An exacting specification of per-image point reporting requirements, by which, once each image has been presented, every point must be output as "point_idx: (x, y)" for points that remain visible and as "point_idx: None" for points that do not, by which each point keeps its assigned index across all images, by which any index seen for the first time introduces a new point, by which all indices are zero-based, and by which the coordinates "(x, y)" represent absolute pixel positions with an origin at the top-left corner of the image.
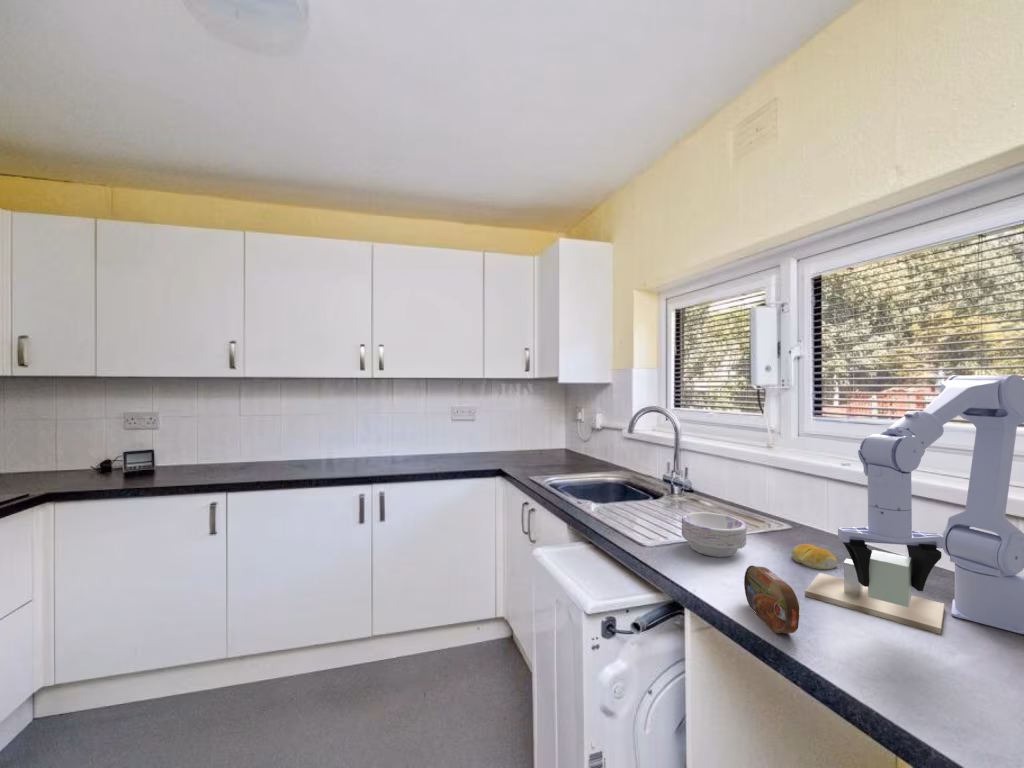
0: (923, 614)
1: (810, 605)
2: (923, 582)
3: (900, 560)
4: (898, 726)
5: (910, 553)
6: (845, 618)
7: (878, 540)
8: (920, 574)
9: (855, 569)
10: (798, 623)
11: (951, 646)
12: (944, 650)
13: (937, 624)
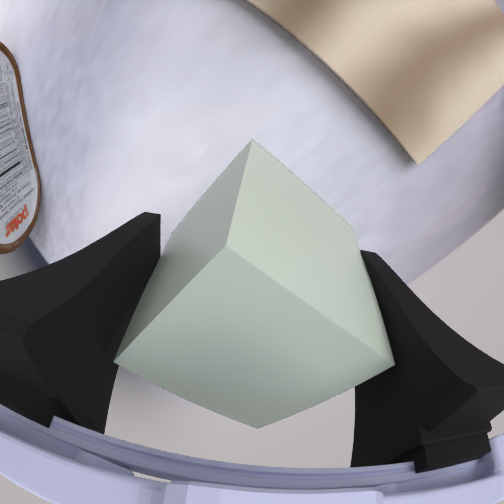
0: (441, 92)
1: (135, 7)
2: None
3: (285, 393)
4: None
5: (415, 367)
6: (199, 73)
7: (151, 474)
8: None
9: (112, 232)
10: (29, 233)
11: (384, 209)
12: (352, 224)
13: (428, 146)
